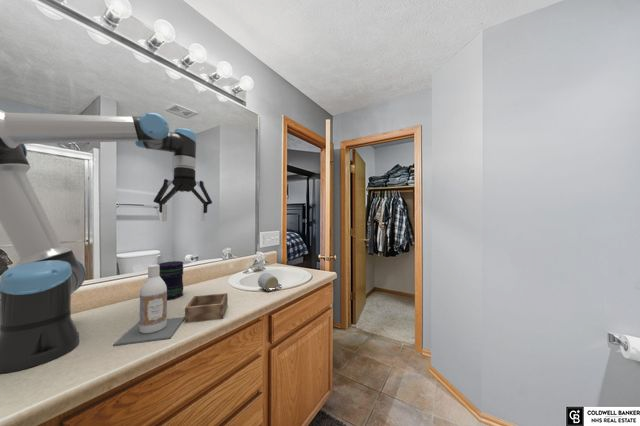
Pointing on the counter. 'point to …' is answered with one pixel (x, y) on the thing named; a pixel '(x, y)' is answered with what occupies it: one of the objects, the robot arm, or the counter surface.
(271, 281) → the ceramic mug
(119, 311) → the counter surface
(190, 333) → the counter surface
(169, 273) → the storage jar
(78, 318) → the counter surface
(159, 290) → the bath foam
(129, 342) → the rubber mat
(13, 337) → the robot arm
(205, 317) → the wooden tray
